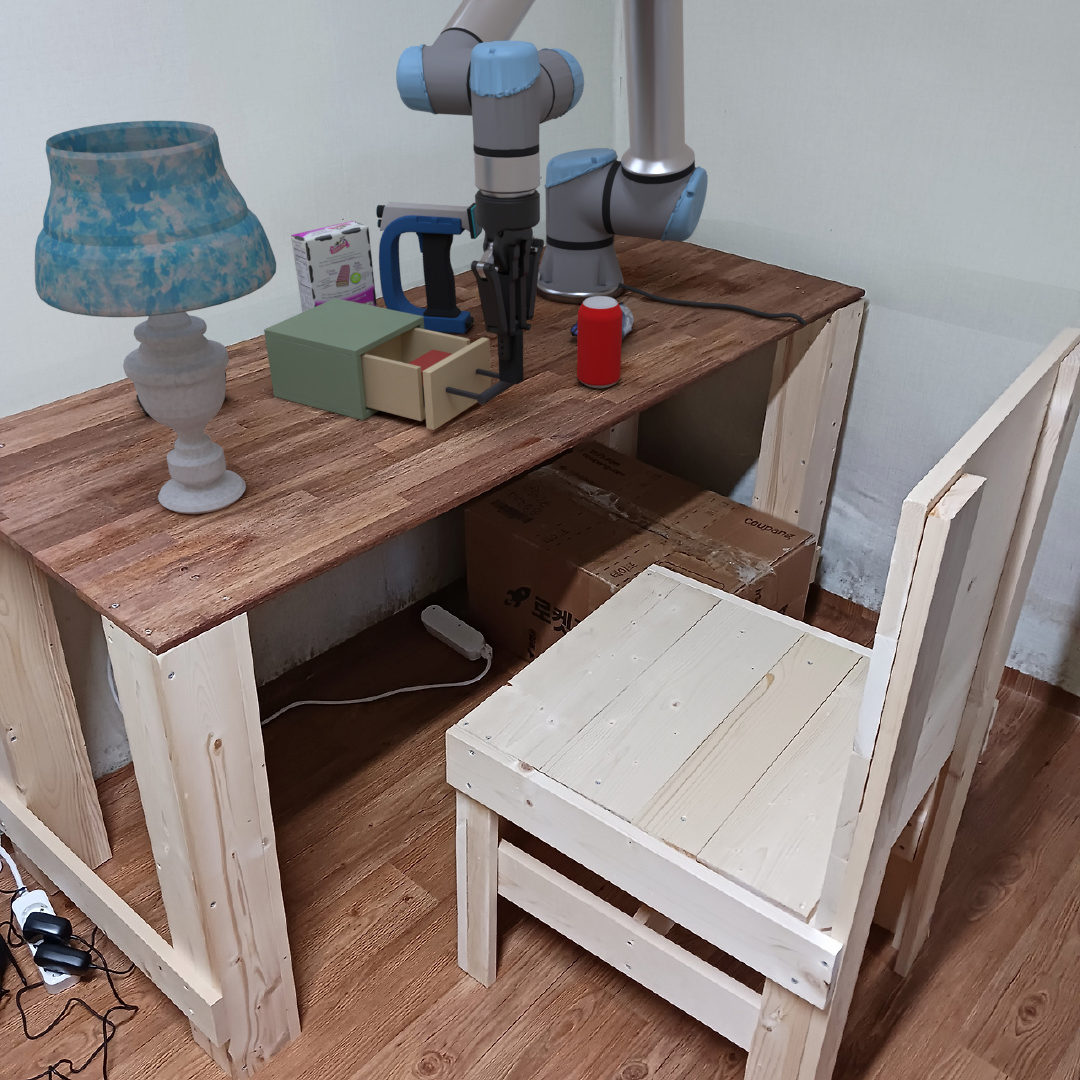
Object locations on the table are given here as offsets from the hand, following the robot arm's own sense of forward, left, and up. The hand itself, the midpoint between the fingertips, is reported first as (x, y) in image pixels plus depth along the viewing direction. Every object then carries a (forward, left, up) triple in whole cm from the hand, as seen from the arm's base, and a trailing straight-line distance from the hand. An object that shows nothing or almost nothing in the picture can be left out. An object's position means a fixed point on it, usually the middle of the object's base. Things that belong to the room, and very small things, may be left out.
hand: (511, 380), depth 135 cm
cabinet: (+25, -9, -7) cm, 28 cm away
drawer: (+11, -4, -6) cm, 13 cm away
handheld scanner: (+20, -35, -7) cm, 41 cm away
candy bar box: (+34, -30, -7) cm, 46 cm away
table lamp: (+32, +23, -7) cm, 40 cm away
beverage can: (-9, -17, -7) cm, 21 cm away
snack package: (-8, -35, -7) cm, 37 cm away
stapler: (+12, -5, -5) cm, 14 cm away
